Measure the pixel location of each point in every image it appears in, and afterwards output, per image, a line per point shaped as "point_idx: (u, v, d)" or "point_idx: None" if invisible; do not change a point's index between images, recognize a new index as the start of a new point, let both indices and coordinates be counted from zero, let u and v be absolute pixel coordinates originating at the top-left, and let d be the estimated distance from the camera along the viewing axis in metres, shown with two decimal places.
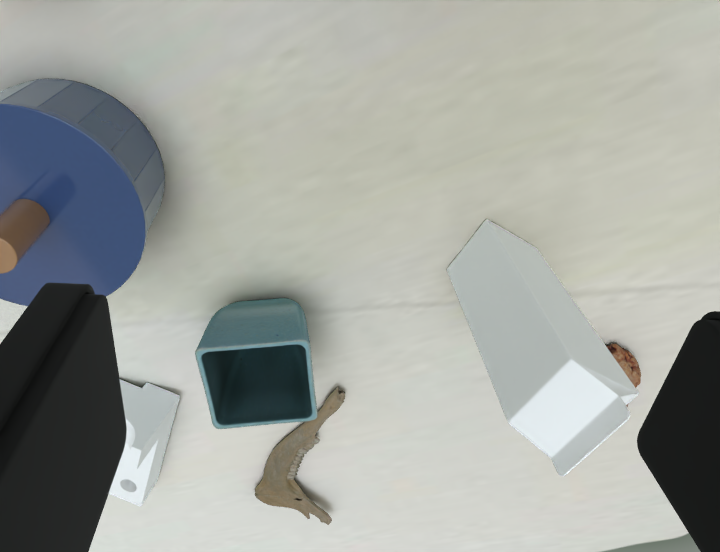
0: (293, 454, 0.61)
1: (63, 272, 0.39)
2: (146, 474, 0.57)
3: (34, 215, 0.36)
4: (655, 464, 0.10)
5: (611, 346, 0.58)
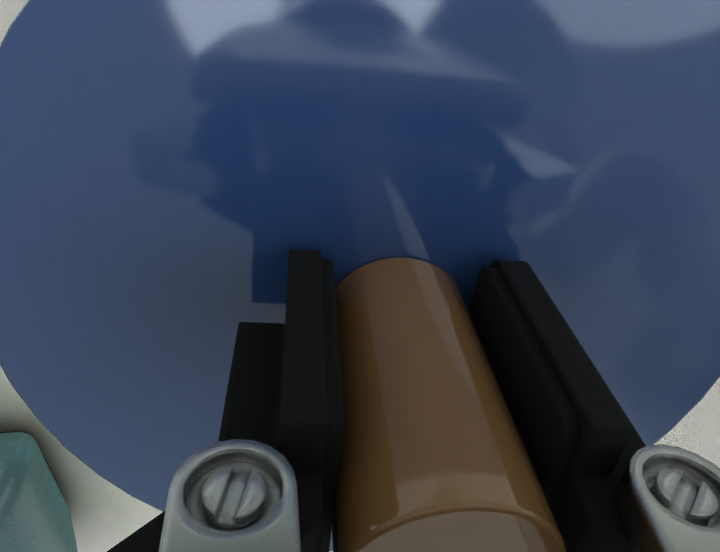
0: None
1: (167, 372, 0.11)
2: None
3: None
4: None
5: None
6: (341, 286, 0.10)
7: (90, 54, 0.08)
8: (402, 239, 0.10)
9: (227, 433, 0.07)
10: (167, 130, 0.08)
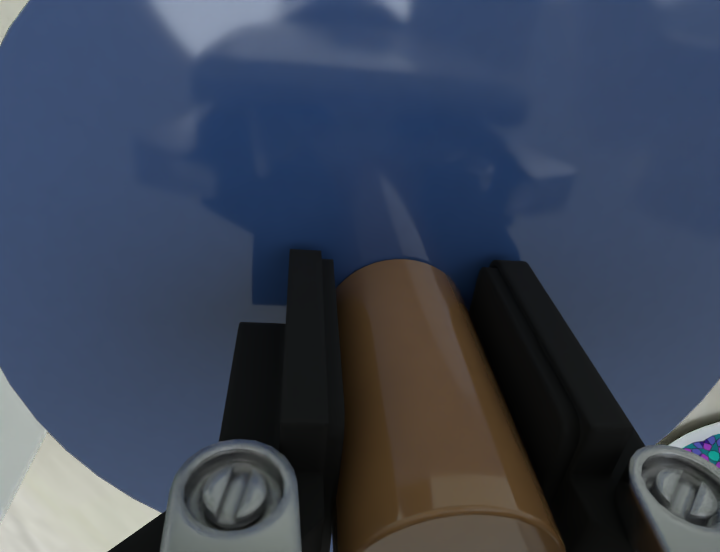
0: None
1: (167, 374, 0.11)
2: None
3: None
4: None
5: None
6: (341, 288, 0.10)
7: (89, 56, 0.08)
8: (402, 241, 0.10)
9: (228, 433, 0.07)
10: (167, 132, 0.08)
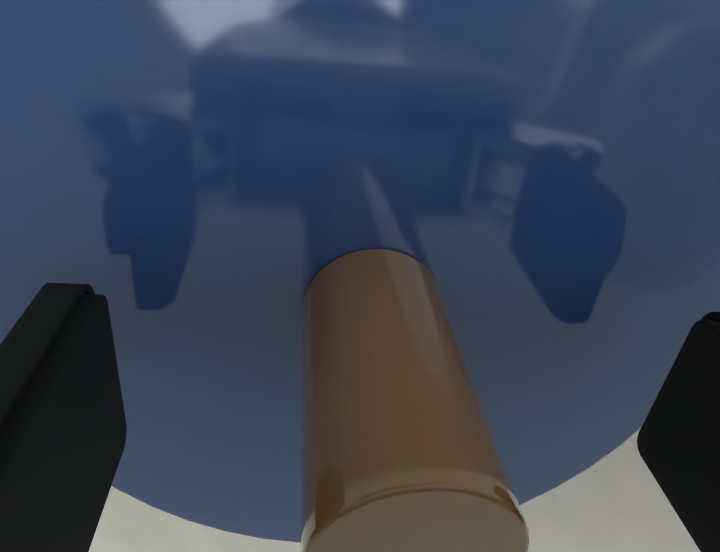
0: None
1: (148, 364, 0.11)
2: None
3: None
4: (655, 464, 0.10)
5: None
6: (318, 277, 0.10)
7: (64, 47, 0.08)
8: (378, 231, 0.10)
9: None
10: (142, 122, 0.09)
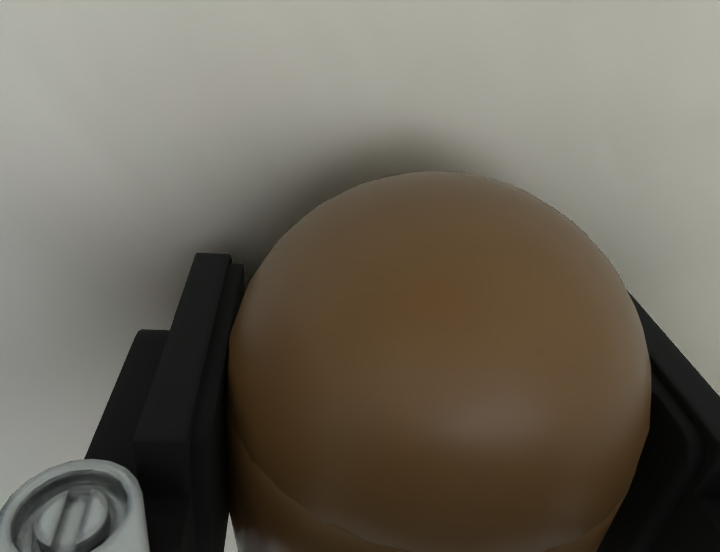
0: None
1: None
2: None
3: None
4: None
5: None
6: None
7: None
8: None
9: (95, 450, 0.06)
10: None
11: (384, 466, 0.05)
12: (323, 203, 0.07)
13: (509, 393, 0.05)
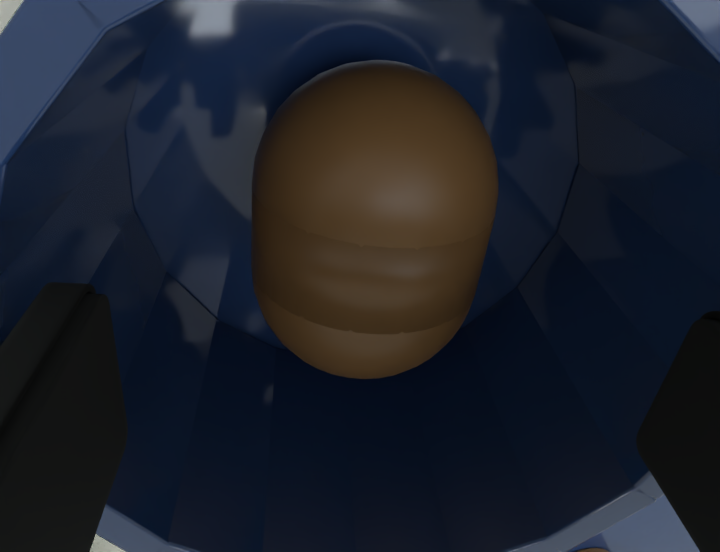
0: None
1: None
2: None
3: None
4: (654, 463, 0.10)
5: None
6: None
7: None
8: (594, 542, 0.24)
9: None
10: None
11: (338, 190, 0.10)
12: None
13: (401, 151, 0.10)
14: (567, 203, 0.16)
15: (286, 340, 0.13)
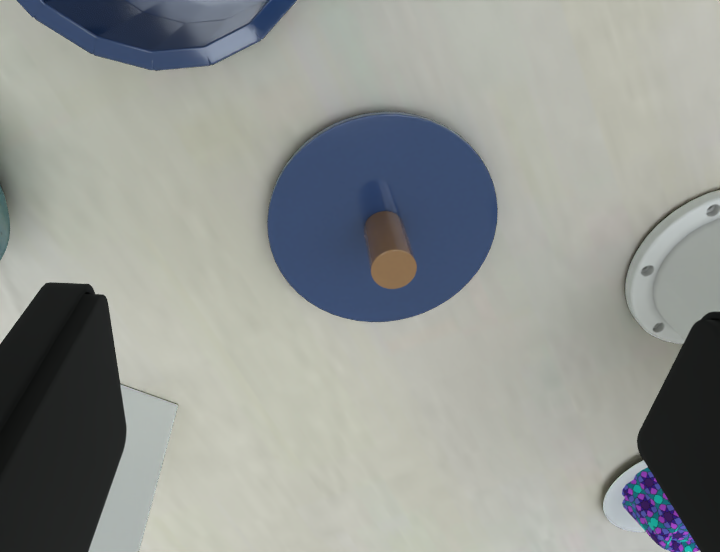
0: None
1: (316, 246, 0.36)
2: None
3: None
4: (655, 464, 0.10)
5: None
6: (369, 219, 0.35)
7: (312, 160, 0.33)
8: (385, 205, 0.35)
9: None
10: (327, 177, 0.34)
11: None
12: None
13: None
14: None
15: None
